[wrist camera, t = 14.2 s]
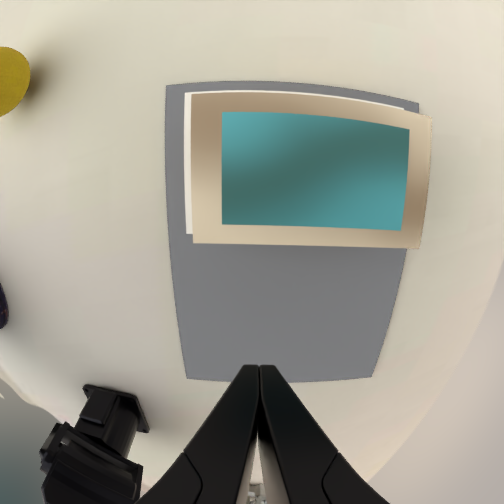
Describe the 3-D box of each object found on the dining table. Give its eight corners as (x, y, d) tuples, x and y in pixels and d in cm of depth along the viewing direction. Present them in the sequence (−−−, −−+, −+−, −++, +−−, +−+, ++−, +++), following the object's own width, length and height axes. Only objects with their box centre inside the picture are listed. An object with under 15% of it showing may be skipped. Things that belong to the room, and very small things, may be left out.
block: (431, 117, 9) (379, 124, 15) (191, 94, 9) (214, 112, 15) (419, 248, 11) (373, 217, 17) (193, 243, 12) (214, 211, 17)
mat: (370, 374, 22) (371, 377, 22) (187, 375, 22) (186, 378, 22) (415, 104, 15) (418, 103, 14) (168, 86, 15) (166, 85, 14)
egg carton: (230, 477, 30) (228, 500, 27) (279, 483, 31) (280, 505, 27) (215, 497, 34) (213, 515, 30) (257, 502, 35) (257, 520, 31)
